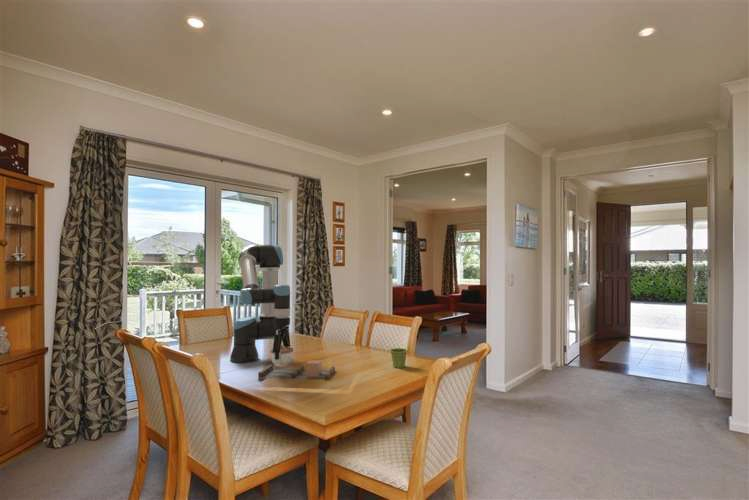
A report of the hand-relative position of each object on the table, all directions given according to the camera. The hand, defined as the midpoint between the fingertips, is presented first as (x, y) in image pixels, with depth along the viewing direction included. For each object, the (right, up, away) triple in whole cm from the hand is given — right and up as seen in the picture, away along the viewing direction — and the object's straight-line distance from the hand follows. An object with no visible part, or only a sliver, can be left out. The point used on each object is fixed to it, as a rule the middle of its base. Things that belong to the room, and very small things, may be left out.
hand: (281, 363), depth 198 cm
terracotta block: (+16, -5, -2) cm, 16 cm away
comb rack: (+8, -6, -1) cm, 10 cm away
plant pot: (+57, -7, +18) cm, 61 cm away
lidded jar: (0, -1, 0) cm, 1 cm away
